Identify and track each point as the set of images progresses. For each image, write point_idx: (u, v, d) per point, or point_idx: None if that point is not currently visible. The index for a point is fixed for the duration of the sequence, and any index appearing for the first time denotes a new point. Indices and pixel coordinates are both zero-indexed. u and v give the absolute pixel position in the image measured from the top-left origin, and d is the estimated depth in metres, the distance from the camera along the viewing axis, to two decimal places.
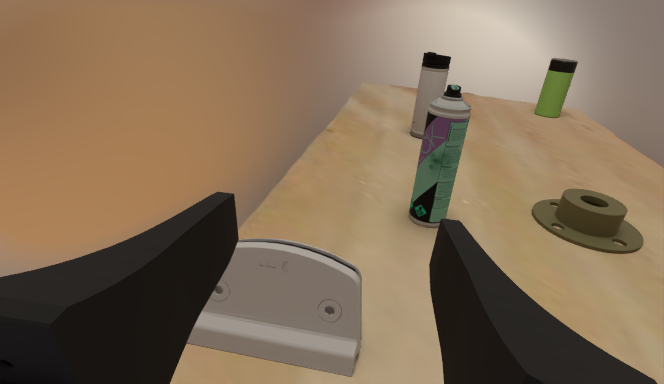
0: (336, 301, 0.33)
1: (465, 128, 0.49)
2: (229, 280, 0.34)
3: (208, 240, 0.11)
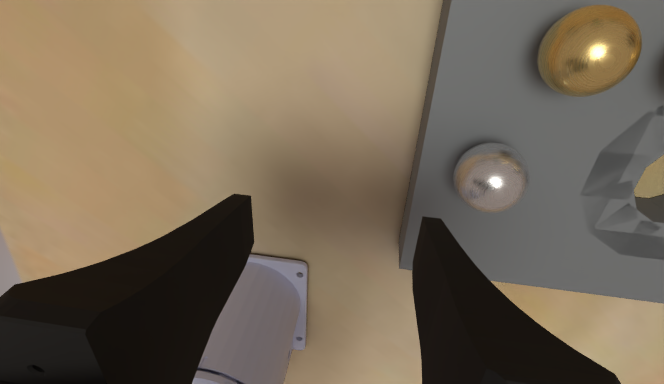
0: None
1: None
2: None
3: (227, 243, 0.11)
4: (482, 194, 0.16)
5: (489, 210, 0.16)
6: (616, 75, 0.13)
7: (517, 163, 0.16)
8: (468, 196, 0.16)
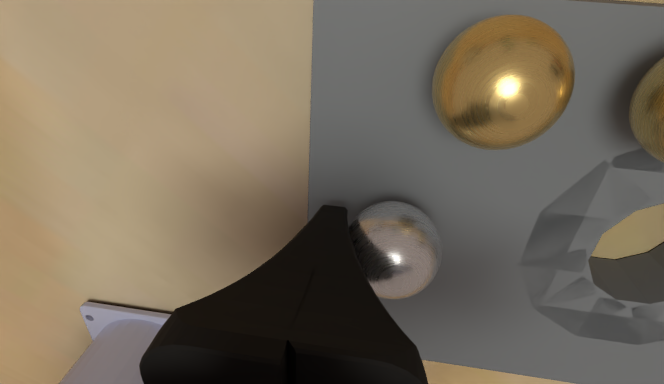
0: None
1: None
2: None
3: None
4: (375, 281, 0.11)
5: (389, 298, 0.12)
6: (533, 125, 0.08)
7: (420, 236, 0.11)
8: None
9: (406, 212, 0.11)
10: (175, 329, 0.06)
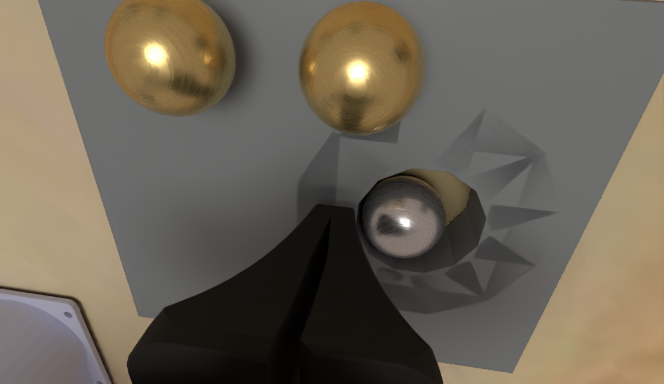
0: None
1: None
2: None
3: (322, 255, 0.11)
4: (380, 242, 0.14)
5: None
6: (168, 88, 0.09)
7: (419, 208, 0.13)
8: (371, 240, 0.14)
9: (411, 187, 0.13)
10: (162, 328, 0.06)
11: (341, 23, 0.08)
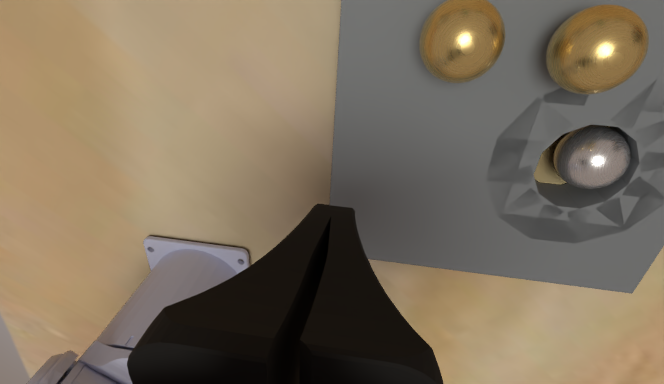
0: None
1: None
2: None
3: (322, 255, 0.11)
4: (611, 168, 0.17)
5: (611, 182, 0.18)
6: (478, 61, 0.14)
7: (620, 135, 0.18)
8: (594, 175, 0.18)
9: (601, 126, 0.18)
10: (163, 327, 0.06)
11: (607, 19, 0.13)
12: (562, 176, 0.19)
